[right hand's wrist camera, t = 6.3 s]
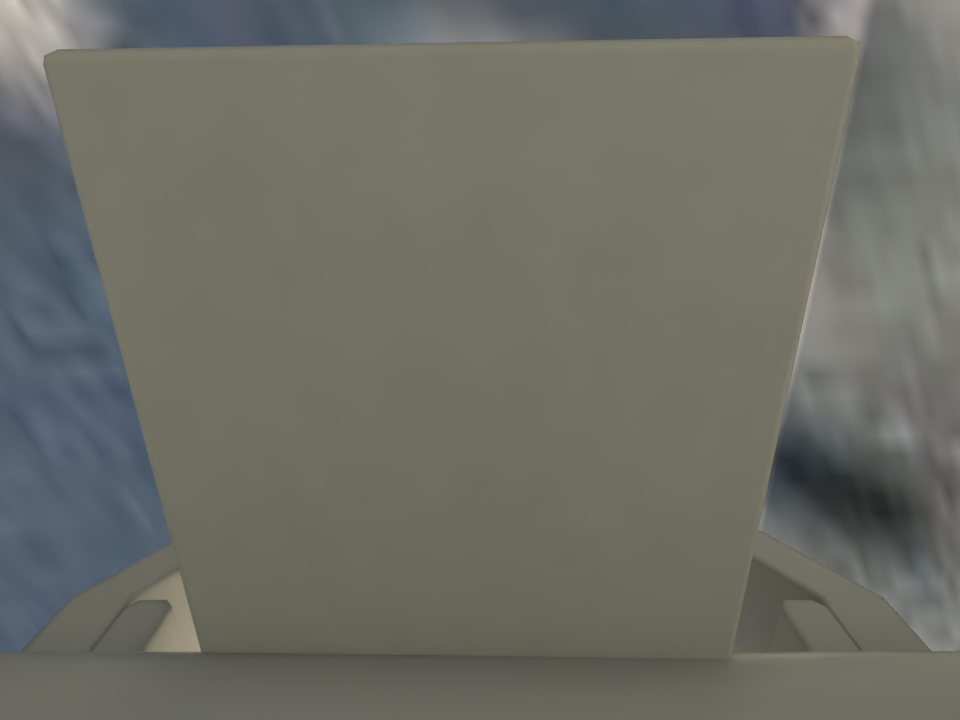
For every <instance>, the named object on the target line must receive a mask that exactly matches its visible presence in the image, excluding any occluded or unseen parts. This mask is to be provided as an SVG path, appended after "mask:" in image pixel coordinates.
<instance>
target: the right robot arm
mask: <svg viewBox="0 0 960 720" xmlns="http://www.w3.org/2000/svg"><path fill="white" fill-rule="evenodd" d="M0 720H960V652H932V651H931V650H930V649H929V648H928V647H927V646H926V645H925V643H924V642H923V641H922V640H921V639H920V638H919V637H918V636H917V635H916V633H915V632H914V631H913V630H912V629H911V628H910V627H909V626H908V625H907V623H906V622H905V621H904V620H903V619H902V618H901V617H900V616H899V614H898V613H897V612H896V611H895V610H894V609H893V608H892V607H891V606H890V604H889V603H888V602H887V601H886V600H885V599H884V598H882V597H881V596H879V595H877V594H875V593H873V592H871V591H870V590H868V589H866V588H864V587H862V586H860V585H859V584H857V583H855V582H853V581H851V580H849V579H848V578H846V577H844V576H842V575H840V574H838V573H837V572H835V571H833V570H831V569H829V568H827V567H825V566H824V565H822V564H820V563H818V562H816V561H814V560H813V559H811V558H809V557H807V556H805V555H803V554H802V553H800V552H798V551H796V550H794V549H792V548H791V547H789V546H787V545H785V544H783V543H781V542H780V541H778V540H776V539H774V538H772V537H770V536H769V535H767V534H765V533H763V532H761V531H759V530H758V533H757V538H756V543H755V547H754V552H753V557H752V561H751V566H750V571H749V575H748V580H747V585H746V589H745V594H744V599H743V603H742V608H741V613H740V617H739V622H738V627H737V631H736V636H735V641H734V645H733V650H732V655H731V658H728V659H672V658H601V657H528V656H454V655H380V654H266V653H203V652H201V649H200V645H199V641H198V638H197V634H196V630H195V627H194V623H193V619H192V615H191V612H190V608H189V604H188V601H187V597H186V593H185V589H184V586H183V582H182V578H181V575H180V571H179V567H178V563H177V560H176V556H175V552H174V548H173V545H172V543H170V544H168V545H167V546H165V547H163V548H161V549H159V550H157V551H155V552H154V553H152V554H150V555H148V556H146V557H144V558H142V559H141V560H139V561H137V562H135V563H133V564H131V565H129V566H128V567H126V568H124V569H122V570H120V571H118V572H116V573H115V574H113V575H111V576H109V577H107V578H105V579H103V580H101V581H100V582H98V583H96V584H94V585H92V586H90V587H88V588H87V589H85V590H83V591H81V592H79V593H77V594H75V595H74V596H72V597H70V598H69V599H68V600H67V601H66V602H65V603H64V604H63V605H62V607H61V608H60V609H59V610H58V611H57V612H56V613H55V614H54V615H53V616H52V617H51V619H50V620H49V621H48V622H47V623H46V624H45V625H44V626H43V627H42V628H41V629H40V631H39V632H38V633H37V634H36V635H35V636H34V637H33V638H32V639H31V640H30V641H29V642H28V644H27V645H26V646H25V647H24V648H23V649H22V650H21V651H20V652H0Z"/></svg>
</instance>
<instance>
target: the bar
mask: <svg viewBox="0 0 960 720" xmlns="http://www.w3.org/2000/svg"><path fill="white" fill-rule="evenodd" d="M860 52H861V51H860V42H859V41H856V40H854V39H852V38H850V37H847V36H813V37H755V38H697V39H639V40H581V41H522V42H464V43H406V44H348V45H290V46H232V47H173V48H115V49H58V50H55V51H53V52H51V53H49V54H47V55H44V69H45V73H46V77H47V80H48V84H49V88H50V91H51V95H52V99H53V103H54V106H55V110H56V114H57V117H58V121H59V125H60V129H61V132H62V136H63V140H64V143H65V147H66V151H67V155H68V158H69V162H70V166H71V169H72V173H73V177H74V181H75V184H76V188H77V192H78V195H79V199H80V203H81V207H82V210H83V214H84V218H85V221H86V225H87V229H88V233H89V236H90V240H91V244H92V247H93V251H94V255H95V259H96V262H97V266H98V270H99V273H100V277H101V281H102V285H103V288H104V292H105V296H106V300H107V303H108V307H109V311H110V314H111V318H112V322H113V326H114V329H115V333H116V337H117V340H118V344H119V348H120V352H121V355H122V359H123V363H124V366H125V370H126V374H127V378H128V381H129V385H130V389H131V392H132V396H133V400H134V404H135V407H136V411H137V415H138V418H139V422H140V426H141V430H142V433H143V437H144V441H145V444H146V448H147V452H148V456H149V459H150V463H151V467H152V470H153V474H154V478H155V482H156V485H157V489H158V493H159V496H160V500H161V504H162V508H163V511H164V515H165V519H166V522H167V526H168V530H169V534H170V537H171V541H172V545H173V548H174V552H175V556H176V560H177V563H178V567H179V571H180V575H181V578H182V582H183V586H184V589H185V593H186V597H187V601H188V604H189V608H190V612H191V615H192V619H193V623H194V627H195V630H196V634H197V638H198V641H199V645H200V649H201V652H203V653H266V654H380V655H454V656H528V657H601V658H672V659H728V658H731V655H732V650H733V645H734V641H735V636H736V631H737V627H738V622H739V617H740V613H741V608H742V603H743V599H744V594H745V589H746V585H747V580H748V575H749V571H750V566H751V561H752V557H753V552H754V547H755V543H756V538H757V533H758V529H759V524H760V519H761V515H762V510H763V505H764V501H765V496H766V491H767V487H768V482H769V477H770V473H771V468H772V463H773V459H774V454H775V449H776V445H777V440H778V435H779V431H780V426H781V421H782V417H783V412H784V407H785V403H786V398H787V393H788V389H789V384H790V379H791V375H792V370H793V365H794V361H795V356H796V351H797V347H798V342H799V337H800V333H801V328H802V323H803V319H804V314H805V309H806V304H807V300H808V295H809V290H810V286H811V281H812V276H813V272H814V267H815V262H816V258H817V253H818V248H819V244H820V239H821V234H822V230H823V225H824V220H825V216H826V211H827V206H828V202H829V197H830V192H831V188H832V183H833V178H834V174H835V169H836V164H837V160H838V155H839V150H840V146H841V141H842V136H843V132H844V127H845V122H846V118H847V113H848V108H849V104H850V99H851V94H852V90H853V85H854V80H855V76H856V71H857V66H858V62H859V57H860Z"/></svg>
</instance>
